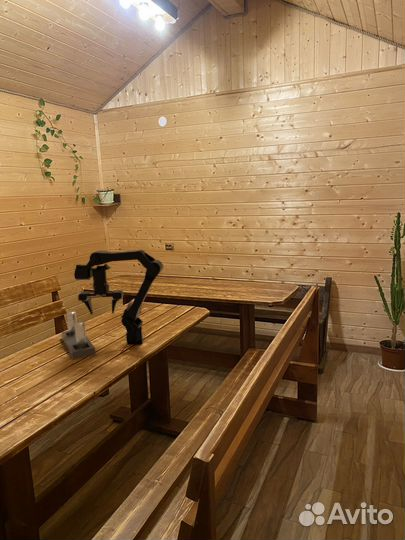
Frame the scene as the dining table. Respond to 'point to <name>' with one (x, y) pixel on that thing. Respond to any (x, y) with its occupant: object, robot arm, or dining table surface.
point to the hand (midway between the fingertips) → (102, 314)
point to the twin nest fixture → (72, 347)
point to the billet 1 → (71, 322)
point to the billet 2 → (80, 335)
